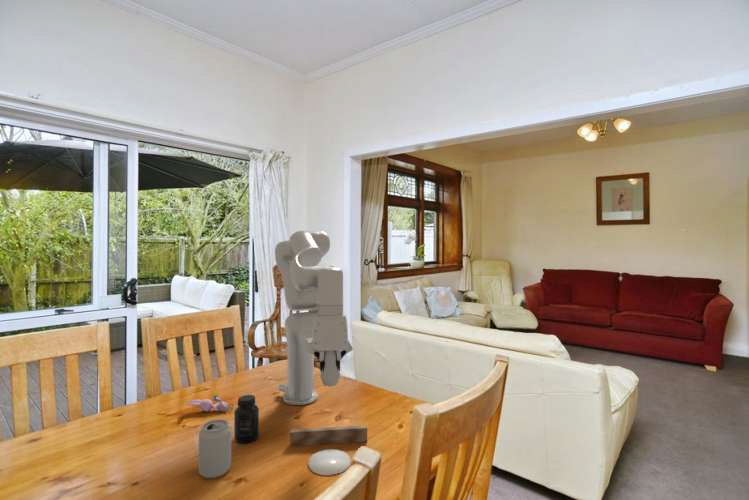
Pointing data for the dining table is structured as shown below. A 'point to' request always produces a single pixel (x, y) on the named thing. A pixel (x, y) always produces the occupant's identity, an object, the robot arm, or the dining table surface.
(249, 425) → the supplement bottle
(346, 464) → the ceramic coaster
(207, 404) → the rabbit figure
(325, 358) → the grey tapered upright piece
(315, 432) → the walnut wall
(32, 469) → the dining table surface
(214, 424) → the can
